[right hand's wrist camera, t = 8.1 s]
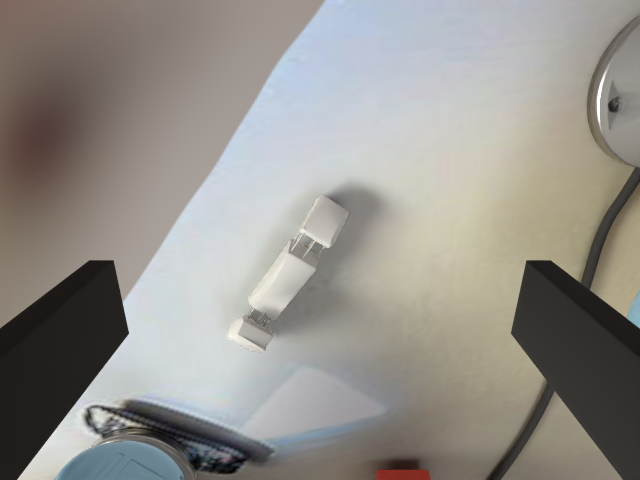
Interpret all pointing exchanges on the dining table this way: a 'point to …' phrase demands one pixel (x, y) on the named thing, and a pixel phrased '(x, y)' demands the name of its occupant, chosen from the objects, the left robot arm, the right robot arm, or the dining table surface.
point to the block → (402, 475)
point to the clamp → (288, 274)
